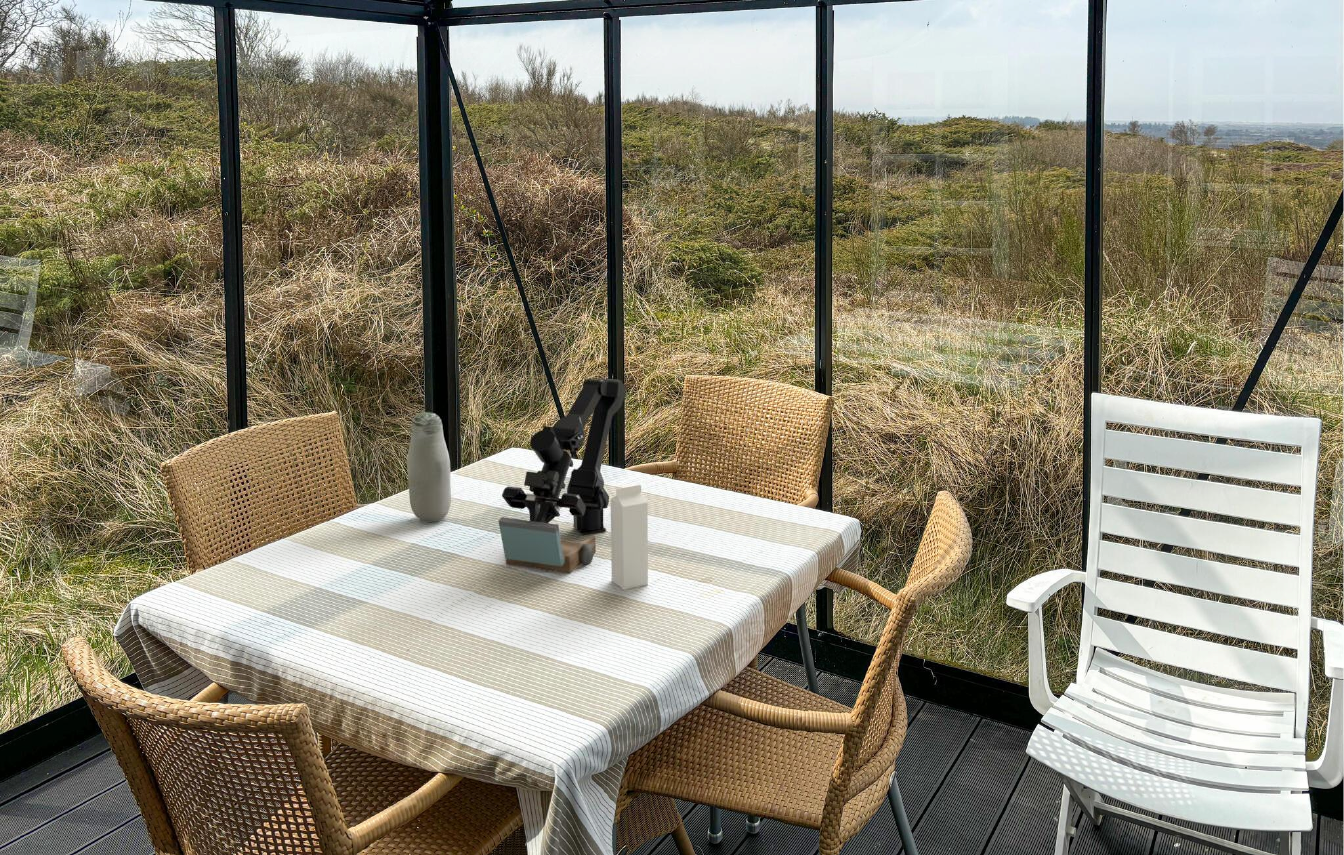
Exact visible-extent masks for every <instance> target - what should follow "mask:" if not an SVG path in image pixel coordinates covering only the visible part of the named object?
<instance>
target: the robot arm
mask: <svg viewBox="0 0 1344 855" xmlns="http://www.w3.org/2000/svg"><path fill="white" fill-rule="evenodd" d="M626 394H627V387H626V384H624V382H623V381H622V380H621V379H613V378H599V377H598V378H587V379H584V381H583V382H582V388H581V390H580V392H579V393H578V395H577V396H576V399H575V400H574V402H573V404H572V406H571V407H570V409H569V411H568V412H567V414H566V415H565V416H564V417H561V418H559V419H558V420H557V421H556V422H555V423H554V424H553V426H549V425H548V426H547V425H544V426H543V427H542V429H541V430H539V431H537V432H535V433H534V434H533V435H532V436H531V438H530V441H529V443H530V444H529V445H530V447H531V449H532V450H533V452H534V453H535V456H537V458H538V459H539V461H540V462H542V463H543V465H542V468H541V470H537V472H536V471H535V472H534V471H526V472H525V478H524V483H523V485H524V486H525V487H526V486H527V487H529V491H530V492H532V493H528V492H527V493H525V491H524V490H523V488H522V487H518V486H516V487H515V486H509V485H508V486H506V487H505V488H504V489H503V491H502V494H501V497H502V498H503V500H504V501H505V502H506V504H507V505H508V506H509V507H510V508H512V509H520V510H524V509H525V508H527V509H528V514H529V521H535V522H543V523H551V521H553V520H554V519H555V518H556V517H557V518H558V517H560V515H561V514H560V512H561V509H562V508H565V509H569V510H568V512H569V514H570V515H571V516H573V517H572V518H573V526H572V527H573V528H574V529H575V530H576V531H577V532H578V533H579V534H580V535H588V534H594V533H596V534H597V533H603V532H607V528H606V527H605V526H604V510H605V509H607V508H608V506H609V503H610V496H609V494H608V492H607V491H606V489H605V488H604V485H605V480H604V477H603V476H602V475H603V474H602V472H601V468H602V464H603V460H604V457H605V456H604V455H605V450H606V446H607V443H608V442H607V441H608V437H609V433H610V428H611V424H612V420H613V416H615V414H616V413H617V412H618V411H619V409H621V407H622V406H623V402H624V399H625V397H626ZM591 416H592V417H591ZM590 417H591V421H590V426H589V429H588V430H589V431H588V433H587V439H586V435H585V430H584V429H585V427H586V425H587V423H588V421H589V419H590ZM585 439H586V443H585V448H584V451H583V456H582V459H581V464H580V466H578V468H577V469H576V468H574V469H573V467H574V461H573V459H572V456H571V454H569V453H568V451H569V452H570V451H571V452H578V451H579V450H580V449H581V447H582V446H583V445H584V441H585ZM569 468H572V471H571V472H570V473H571V474H570V479H569V481H568V484H567V488H566V483H565V480H566V478H567V474H568V472H569ZM562 489H563V490H565V489H566V492H565V493H562V494H561V492H562ZM560 496H561V497H560Z"/></svg>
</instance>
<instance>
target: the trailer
mask: <svg viewBox="0 0 1344 855" xmlns="http://www.w3.org/2000/svg"><path fill="white" fill-rule="evenodd" d="M596 544H597V543H596V535H595V536H594V535H590V536H589V537H587V538H586V539H585V540H583V541H582V542H580V541H572V540H565V539H561V545H562V552H563V558H564V564H563V565H562V566H554V565H547V564H540V563H534V562H527V561H520V560H513V559H506V558H505V564H506V565H509V566H516V567H517V566H518V567H523V568H529V569H530V568H531V569H536V570H543V571H550V572H555V573H556V572H557V573H563V574H564V573H565V574H569V575H570V574H571V573H572V572H574V571H575V570H576V569H577V568H578V567H579V566H581V565H582V564H583V565H590V564H591V563H592V561H593V559H594V554H596V552H597V551H596V546H597V545H596Z"/></svg>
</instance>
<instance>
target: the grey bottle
mask: <svg viewBox="0 0 1344 855" xmlns="http://www.w3.org/2000/svg"><path fill="white" fill-rule="evenodd" d="M410 429H411V433H410V434H411V435H410V443H409V447H408V451H407V458H406V470H407V471H406V472H407V481H408V483H407V484H408V493H409V494H408V495H409V496H408V497H409V505H410V508H411V511H412V512H413V514H414V516H415V517H416V518H417V519H419V520H420V521H423V522H428V523H433V522H439V521H441V520H442V519H444V518H445V517H446V516H447V515H448V513H449V511H450V508H451V504H452V489H451V488H452V487H451V460H450V455H449V451H448V448H447V443H446V440H445V437H444V436H445V435H444V429H443V423H442V419H441V418H440V416H439V415H438V414H436V413H433V412H430V411H426V412H419V413H417V414H416V415H415V416H414V417H413V419H412V422H411V428H410Z"/></svg>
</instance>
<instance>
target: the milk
mask: <svg viewBox="0 0 1344 855" xmlns="http://www.w3.org/2000/svg"><path fill="white" fill-rule="evenodd" d="M615 493H616V494H615V496H613V497H612V498H610V546H611V548H610V550H611V552H610V554H611V555H610V558H611V559H610V560H611V561H610V562H611V581H612V582H613V583H614V584H615V585H617V586H618V587H619V588H621V589H622V590H624V591H625V590H630V589H634V588H635V589H636V588H638V587H639V588H641V587H644V586H647V585H649V567H648V566H649V561H648V560H649V553H648V550H649V549H648V548H649V547H648V545H649V544H648V541H649V540H648V537H649V535H648V528H649V527H648V521H649V520H648V501H647V499H646V497H645V496H644V494H643V492H642V486H641V485H640V484H636V485H630V486H625V487H619V488H617V489H616V492H615Z"/></svg>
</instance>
